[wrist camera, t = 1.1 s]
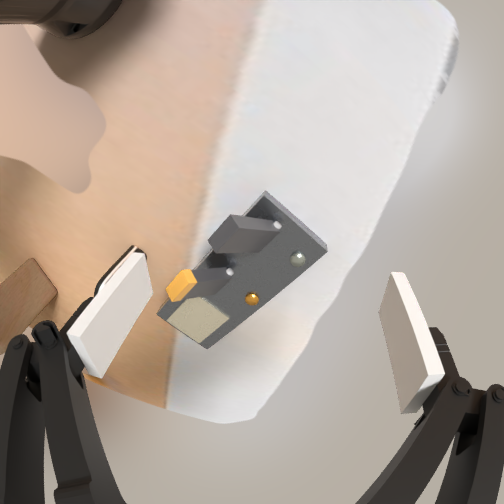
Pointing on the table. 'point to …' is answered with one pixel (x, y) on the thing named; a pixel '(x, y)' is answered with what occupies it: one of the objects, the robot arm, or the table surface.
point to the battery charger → (116, 268)
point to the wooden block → (22, 300)
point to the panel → (247, 277)
